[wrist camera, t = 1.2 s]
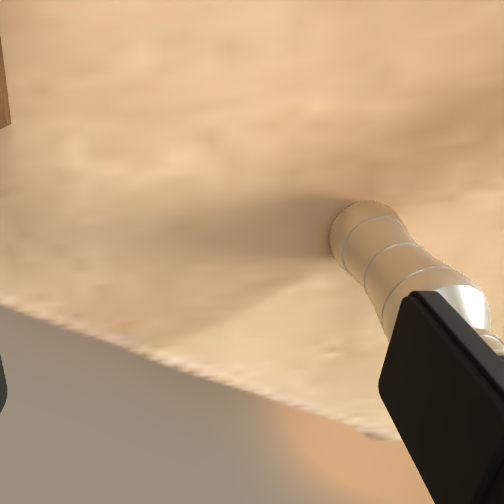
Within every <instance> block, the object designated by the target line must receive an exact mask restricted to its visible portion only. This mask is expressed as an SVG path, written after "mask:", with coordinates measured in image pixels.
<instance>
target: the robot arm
mask: <svg viewBox="0 0 504 504" xmlns="http://www.w3.org/2000/svg"><path fill="white" fill-rule="evenodd" d="M378 388H379V394H380V396H381V399H382V401H383V402H384V404H385V406H386V408H387V410H388V412H389V414H390V416H391V418H392V420H393V422H394V424H395V426H396V428H397V430H398V432H399V434H400V436H401V438H402V440H403V442H404V443H405V446H406V448H407V450H408V452H409V454H410V455H411V457H412V459H413V461H414V463H415V465H416V467H417V469H418V471H419V473H420V475H421V477H422V479H423V481H424V483H425V485H426V487H427V489H428V491H429V493H430V495H431V497H432V499H433V501H434V503H435V504H504V361H503V360H502V359H501V358H500V357H499V356H498V355H497V354H496V353H495V351H494V350H493V349H492V348H491V347H490V346H489V345H488V344H487V343H486V342H485V341H484V340H483V339H482V338H481V337H480V336H479V334H478V333H477V332H476V331H475V330H474V329H473V328H472V327H471V326H470V325H469V324H468V323H467V322H466V321H465V320H464V319H463V317H462V316H461V315H460V314H459V313H458V312H457V311H456V310H455V309H454V308H453V307H452V306H451V305H450V304H449V303H448V302H447V300H446V299H445V298H444V297H443V296H442V295H441V294H440V293H439V292H437V291H412V292H410V294H409V295H408V296H406V297H404V298H403V299H402V301H401V304H400V307H399V311H398V315H397V318H396V322H395V325H394V329H393V332H392V336H391V339H390V343H389V346H388V350H387V353H386V357H385V361H384V364H383V368H382V371H381V375H380V378H379V383H378ZM6 398H7V384H6V379H5V375H4V370H3V366H2V361H1V356H0V412H1V411H2V409H3V407H4V405H5V402H6Z"/></svg>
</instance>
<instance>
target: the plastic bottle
mask: <svg viewBox="0 0 504 504" xmlns="http://www.w3.org/2000/svg"><path fill="white" fill-rule="evenodd" d="M329 241H330V247H331V250H332V254H333V257H334V259H335V260H336V262H337V263H338V264H339V265H340V266H341V267H342V268H343V269H344V270H345V271H346V272H347V273H348V274H350V275H351V276H353V277H354V279H355V280H356V281H357V282H358V283H359V284H360V285H361V286H362V288H363V289H364V290H365V292H366V293H367V295H368V297H369V299H370V300H371V302H372V304H373V306H374V308H375V310H376V313H377V315H378V318H379V320H380V323H381V325H382V328H383V330H384V333H385V335H386V337H387V339H388V341H389V343H390V339H391V336H392V332H393V329H394V325H395V322H396V318H397V315H398V311H399V307H400V304H401V301H402V299H403V298H404V297H406V296H408V295H409V294H410V292H412V291H437V292H439V293H440V294H441V295H442V296H443V297H444V298H445V299H446V300H447V302H448V303H449V304H450V305H451V306H452V307H453V308H454V309H455V310H456V311H457V312H458V313H459V314H460V315H461V316H462V317H463V319H464V320H465V321H466V322H467V323H468V324H469V325H470V326H471V327H472V328H473V329H474V330H475V331H476V332H477V333H478V334H479V336H480V337H481V338H482V339H483V340H484V341H485V342H486V343H487V344H488V345H489V346H490V347H491V348H492V349H493V350H494V351H495V353H496V354H497V355H498V356H499V357H500V358H501V359H502V360H503V361H504V343H503V342H502V341H501V339H500V338H499V337H498V336H497V335H496V334H495V333H493V332H492V331H490V330H491V316H490V306H489V304H488V301H487V299H486V297H485V295H484V293H483V291H482V289H481V288H480V287H479V285H478V284H477V283H476V282H475V281H473V280H472V279H471V278H469V277H468V276H466V275H465V274H464V273H462V272H460V271H459V270H457V269H455V268H453V267H452V266H450V265H448V264H446V263H445V262H443V261H441V260H440V259H438V258H436V257H435V256H434V255H432V254H431V253H430V252H428V251H427V250H426V249H424V248H423V247H422V246H421V245H419V244H418V243H417V241H416V240H415V239H414V238H413V237H412V235H411V234H410V233H409V232H408V231H407V229H406V226H405V224H404V223H403V221H402V220H401V218H400V217H399V216H398V214H397V213H396V212H395V211H394V210H393V209H391V208H390V207H388V206H386V205H383V204H381V203H378V202H375V201H360V202H356V203H354V204H352V205H350V206H348V207H347V208H345V209H344V210H343V211H342V212H341V213H340V214H339V215H338V216H337V217H336V219H335V220H334V222H333V224H332V227H331V230H330V235H329Z"/></svg>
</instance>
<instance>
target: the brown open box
mask: <svg viewBox="0 0 504 504" xmlns="http://www.w3.org/2000/svg"><path fill="white" fill-rule="evenodd" d="M9 124H11V119H10V111H9V103H8V94H7V86H6V78H5V70H4V62H3V54H2V46H1V38H0V129H1V128H3V127H5V126H7V125H9Z"/></svg>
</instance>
